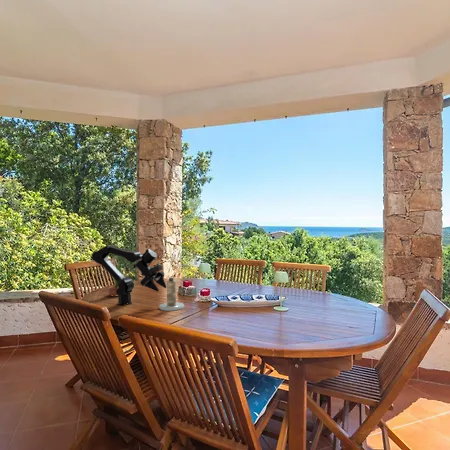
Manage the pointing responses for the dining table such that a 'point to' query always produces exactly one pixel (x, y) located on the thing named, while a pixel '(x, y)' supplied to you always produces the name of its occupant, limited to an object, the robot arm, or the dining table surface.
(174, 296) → the beige striped cylinder
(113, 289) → the potted flower
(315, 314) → the dining table surface
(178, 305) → the plate
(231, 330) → the dining table surface
